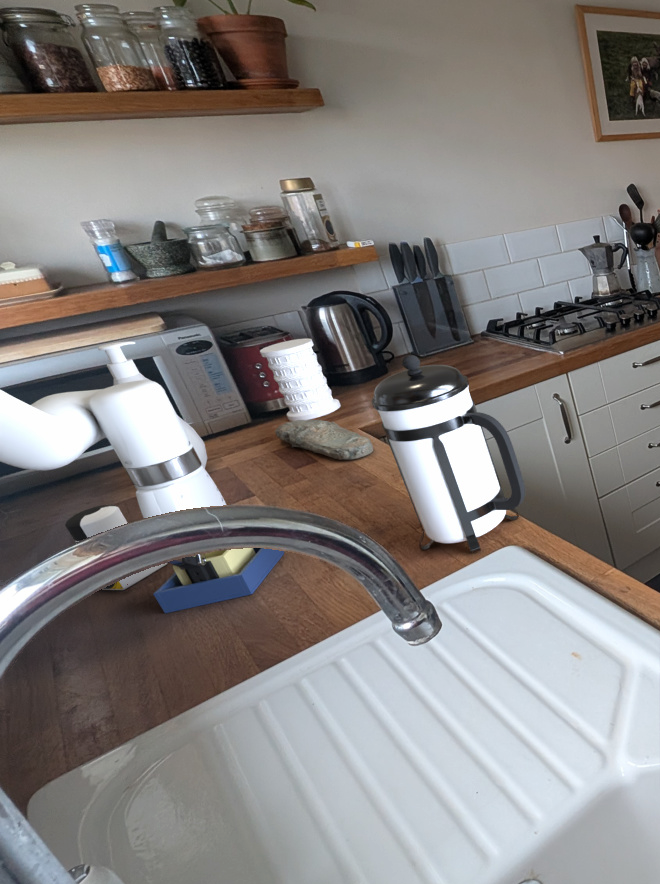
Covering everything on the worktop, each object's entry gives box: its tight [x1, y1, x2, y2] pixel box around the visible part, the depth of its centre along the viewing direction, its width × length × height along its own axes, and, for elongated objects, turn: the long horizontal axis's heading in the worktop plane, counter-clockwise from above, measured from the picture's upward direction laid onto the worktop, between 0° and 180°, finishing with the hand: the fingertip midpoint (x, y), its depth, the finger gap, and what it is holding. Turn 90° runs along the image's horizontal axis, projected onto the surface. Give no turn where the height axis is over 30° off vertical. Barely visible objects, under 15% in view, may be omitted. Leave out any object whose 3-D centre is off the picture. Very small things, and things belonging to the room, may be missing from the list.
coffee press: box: [370, 354, 526, 555], centre depth 102 cm, size 17×16×30 cm
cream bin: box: [172, 548, 256, 586], centre depth 101 cm, size 7×7×5 cm
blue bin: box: [153, 548, 285, 614], centre depth 102 cm, size 11×11×4 cm
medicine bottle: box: [64, 504, 168, 591], centre depth 105 cm, size 7×7×12 cm
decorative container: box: [259, 337, 342, 422], centre depth 170 cm, size 12×12×18 cm
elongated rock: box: [274, 419, 374, 461], centre depth 150 cm, size 35×5×10 cm
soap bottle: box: [97, 340, 208, 470], centre depth 137 cm, size 17×12×29 cm
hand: (221, 571), depth 102 cm, fingers closed on cream bin, 6 cm apart
